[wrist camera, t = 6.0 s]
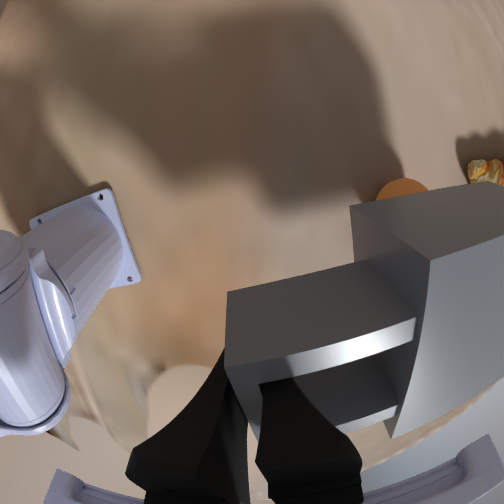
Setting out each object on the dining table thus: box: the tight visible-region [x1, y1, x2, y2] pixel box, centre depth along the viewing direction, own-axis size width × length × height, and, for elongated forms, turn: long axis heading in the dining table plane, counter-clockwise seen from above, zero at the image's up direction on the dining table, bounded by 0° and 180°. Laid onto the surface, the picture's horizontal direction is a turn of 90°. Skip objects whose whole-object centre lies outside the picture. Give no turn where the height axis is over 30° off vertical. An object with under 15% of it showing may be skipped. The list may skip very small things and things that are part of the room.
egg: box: [375, 178, 428, 201], centre depth 18 cm, size 5×5×5 cm
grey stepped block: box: [224, 181, 504, 442], centre depth 11 cm, size 16×10×6 cm, turn 102°
